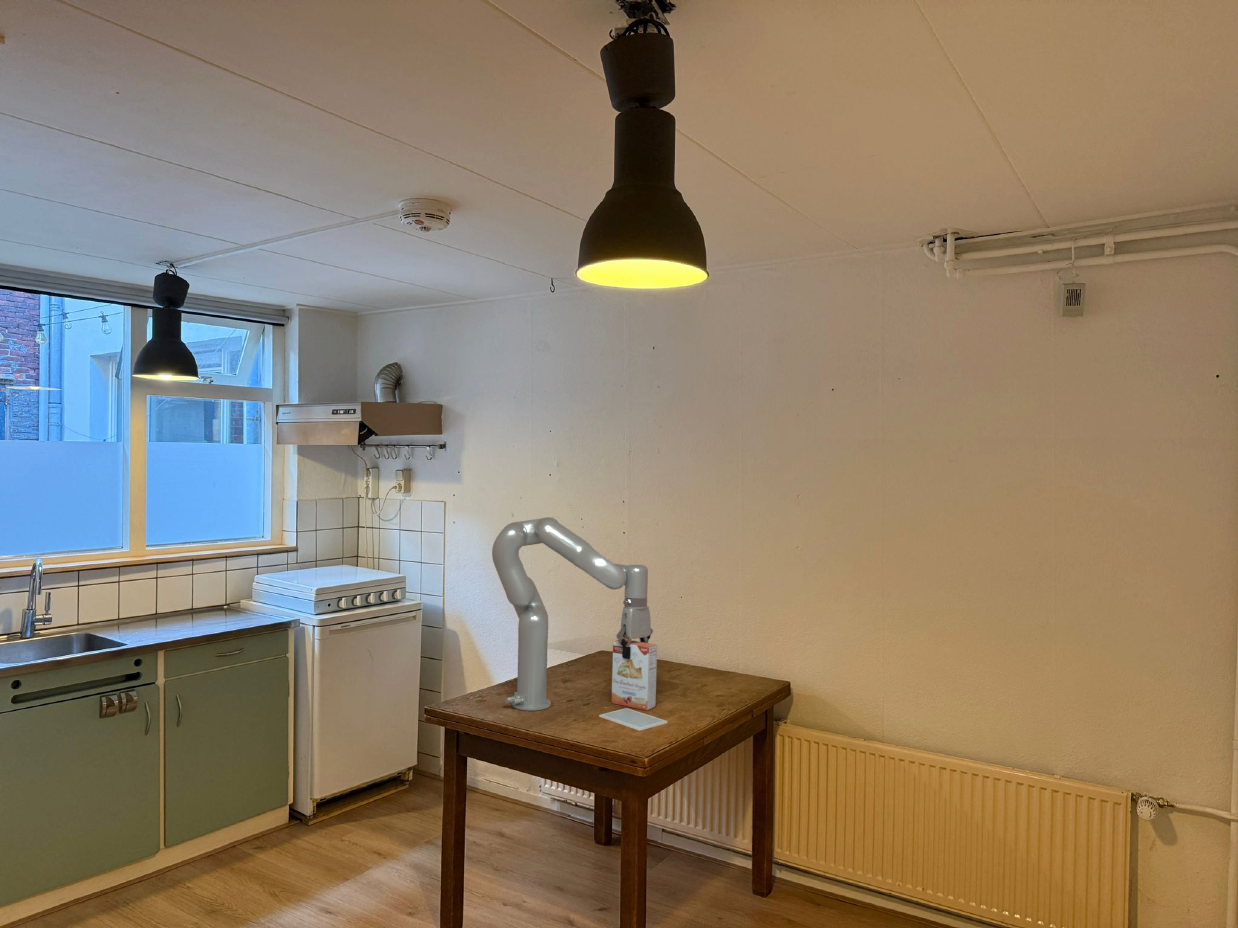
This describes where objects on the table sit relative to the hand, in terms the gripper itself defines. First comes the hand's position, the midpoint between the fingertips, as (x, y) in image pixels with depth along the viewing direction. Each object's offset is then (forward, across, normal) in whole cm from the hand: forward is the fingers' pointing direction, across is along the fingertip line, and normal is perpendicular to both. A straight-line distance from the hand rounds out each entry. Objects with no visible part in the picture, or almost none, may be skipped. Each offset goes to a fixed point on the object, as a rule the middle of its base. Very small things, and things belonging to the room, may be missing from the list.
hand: (634, 656), depth 272 cm
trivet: (+16, -11, -11) cm, 22 cm away
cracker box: (+16, 0, 0) cm, 16 cm away
